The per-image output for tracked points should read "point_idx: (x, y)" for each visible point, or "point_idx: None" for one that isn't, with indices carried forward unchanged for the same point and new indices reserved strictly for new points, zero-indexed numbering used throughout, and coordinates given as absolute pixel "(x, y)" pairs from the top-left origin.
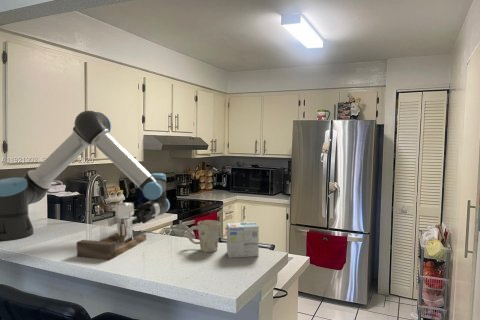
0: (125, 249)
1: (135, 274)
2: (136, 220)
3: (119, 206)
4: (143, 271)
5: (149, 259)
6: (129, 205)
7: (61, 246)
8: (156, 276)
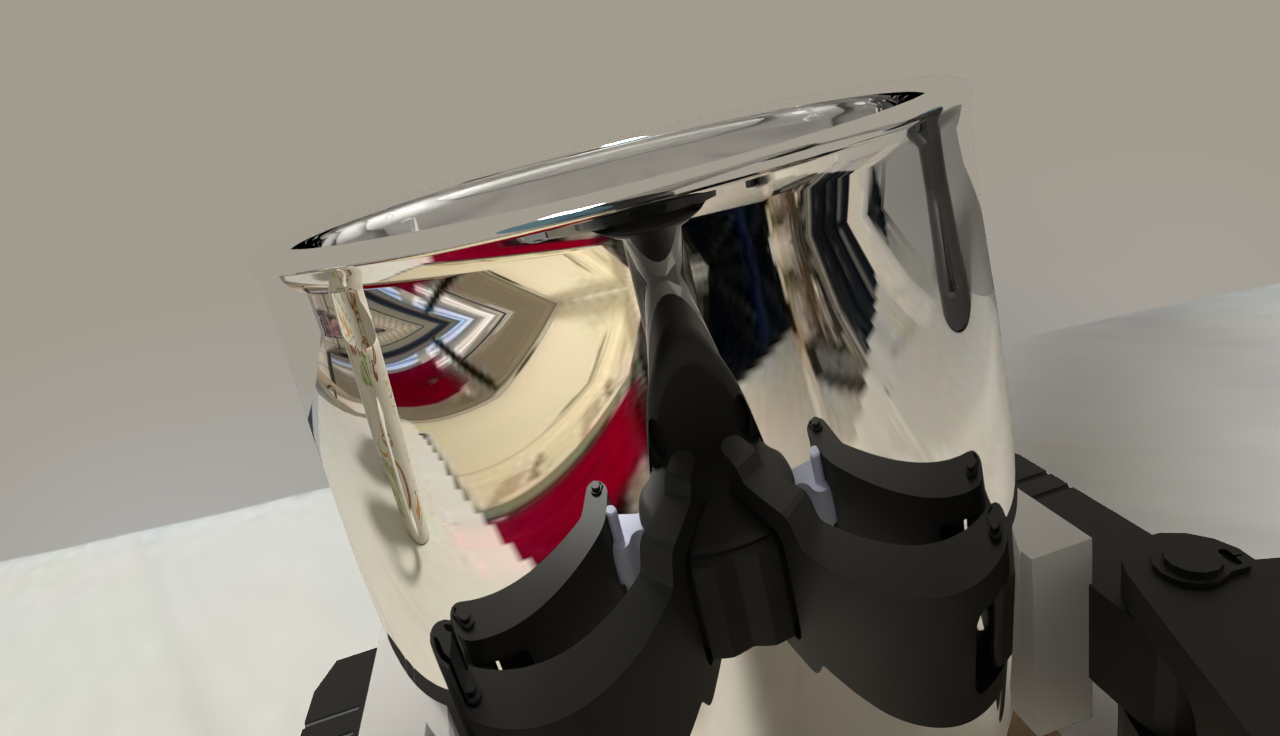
0: None
1: (201, 532)
2: (313, 732)
3: (593, 173)
4: (156, 569)
5: (129, 705)
6: (340, 231)
7: (1190, 437)
8: (64, 574)
